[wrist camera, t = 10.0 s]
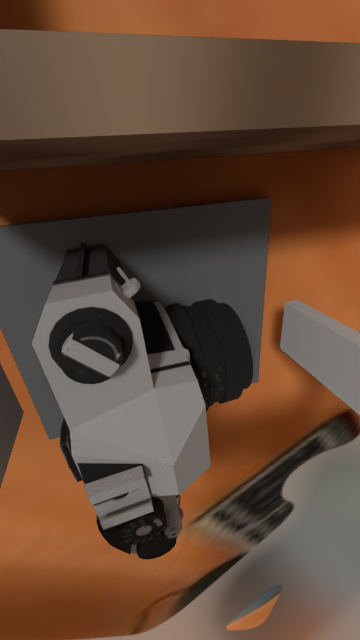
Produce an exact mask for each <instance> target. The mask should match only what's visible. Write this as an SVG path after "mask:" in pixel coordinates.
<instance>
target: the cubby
mask: <svg viewBox="0 0 360 640" xmlns="http://www.w3.org/2000/svg"><path fill="white" fill-rule="evenodd" d="M352 147H360V43H341V42H316V41H291V40H265V39H240V38H215V37H190V36H165V35H139V34H114V33H89V32H64V31H39V30H13V29H0V171H6V170H21V169H36V168H51V167H66V166H81V165H96V164H111V163H126V162H142V161H157V160H172V159H187V158H202V157H217V156H232V155H247V154H262V153H277V152H292V151H307V150H322V149H337V148H352Z"/></svg>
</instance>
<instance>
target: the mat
mask: <svg viewBox="0 0 360 640" xmlns="http://www.w3.org/2000/svg"><path fill="white" fill-rule="evenodd" d="M270 212H271V198H256V199H246V200H237V201H228V202H219V203H209V204H200V205H191V206H181V207H172V208H163V209H153V210H144V211H135V212H126V213H116V214H107V215H98V216H88V217H79V218H70V219H60V220H51V221H42V222H33V223H23V224H14V225H5V226H0V328H1V330H2V332H3V335H4V337H5V339H6V342H7V344H8V346H9V348H10V351H11V353H12V355H13V357H14V360H15V362H16V364H17V367H18V369H19V371H20V373H21V376H22V378H23V380H24V382H25V385H26V387H27V389H28V391H29V394H30V396H31V398H32V401H33V403H34V405H35V407H36V410H37V412H38V414H39V416H40V419H41V421H42V423H43V426H44V428H45V430H46V432H47V435H48V437H49V439H54V438H57V437H60V433H61V426H62V422H63V418H64V416H63V414H62V411H61V409H60V407H59V404H58V402H57V400H56V398H55V395H54V393H53V391H52V389H51V386H50V384H49V382H48V379H47V377H46V375H45V373H44V370H43V368H42V366H41V364H40V361H39V359H38V357H37V354H36V352H35V350H34V348H33V345H32V342H33V339H34V336H35V333H36V330H37V327H38V324H39V321H40V318H41V315H42V312H43V309H44V306H45V303H46V300H47V297H48V294H49V291H50V288H51V285H52V283H53V281H54V280H56V277H57V275H58V273H59V270H60V268H61V266H62V263H63V260H64V257H65V254H66V251H67V250H68V249H70V248H76V247H80V246H81V244H82V243H86V246H88V245H94V244H100V243H104V244H105V245H106V246H107V247H108V248H109V250H110V251H111V252H112V253H113V254H114V255H115V256H116V258H117V259H118V260H119V261H120V262H121V266H122V270H123V271H124V272H125V273H126V274H127V278H128V279H132V278H136V279H137V280H138V281H139V283H140V284H141V286H140V289H139V290H138V292H137V293H135V294H134V295H133V298H134V302H140V301H153V302H159V303H161V304H162V306H163V308H166V307H167V306H168V305H170V304H175V303H179V304H180V305H182V306H183V305H184V306H191V305H192V304H193V303H194V302H197V301H202V300H207V299H212V300H215V301H216V302H217V303H226V304H228V305H229V306H230V307H231V308H233V310H234V311H235V312H236V314H237V315H238V317H239V319H240V320H241V322H242V324H243V327H244V329H245V331H246V334H247V337H248V340H249V344H250V347H251V352H252V358H253V379H252V382H251V384H252V383H256V382H258V376H259V362H260V348H261V335H262V321H263V308H264V294H265V280H266V267H267V253H268V239H269V226H270Z"/></svg>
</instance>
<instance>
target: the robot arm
mask: <svg viewBox="0 0 360 640" xmlns="http://www.w3.org/2000/svg"><path fill="white" fill-rule="evenodd" d="M280 349H282V350H283V351H284V352H285V353H286V354H287V355H289V356H290V357H291V358H292V359H293V360H295V361H296V362H297V363H298V364H299V365H301V366H302V367H303V368H304V369H305V370H306V371H308V372H309V373H310V374H311V375H312V376H314V377H315V378H316V379H317V380H318V381H320V382H321V383H322V384H323V385H324V386H325V387H327V388H328V389H329V390H330V391H331V392H333V393H334V394H335V395H336V396H337V397H339V398H340V399H341V400H342V401H343V402H345V403H346V404H347V405H348V406H349V407H350V408H352V409H353V410H354V411H355V412H356V413H358V414H359V415H360V333H359V332H357V331H355V330H353V329H351V328H350V327H348V326H346V325H344V324H342V323H340V322H338V321H336V320H335V319H333V318H331V317H329V316H327V315H325V314H323V313H321V312H320V311H318V310H316V309H314V308H312V307H310V306H308V305H306V304H305V303H303V302H301V301H299V300H295V301H290V302H285V306H284V315H283V324H282V333H281V342H280ZM23 413H24V412H23V410H22V408H21V406H20V404H19V402H18V400H17V398H16V395H15V393H14V391H13V389H12V387H11V385H10V383H9V381H8V379H7V376H6V374H5V372H4V370H3V368H2V366H1V364H0V488H1V484H2V481H3V478H4V475H5V471H6V468H7V465H8V462H9V458H10V455H11V452H12V449H13V445H14V442H15V439H16V435H17V432H18V429H19V426H20V422H21V419H22V416H23Z"/></svg>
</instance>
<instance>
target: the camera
mask: <svg viewBox="0 0 360 640" xmlns="http://www.w3.org/2000/svg"><path fill="white" fill-rule="evenodd" d="M140 286H141V284H140V283H139V281H138V280H137V279H136V278H132V279H128V278H127V274H126V273H125V272H124V271H123V270H122V266H121V262H120V261H119V260H118V259H117V258H116V256H115V255H114V254H113V253H112V252H111V251H110V250H109V248H108V247H107V246H106V245H105V244H104V243H100V244H94V245H88V246H86V243H82V244H81V246H80V247H76V248H70V249H68V250H67V251H66V254H65V257H64V260H63V263H62V266H61V268H60V270H59V273H58V275H57V277H56V280H54V281H53V283H52V285H51V288H50V291H49V294H48V297H47V300H46V303H45V306H44V309H43V312H42V315H41V318H40V321H39V324H38V327H37V330H36V333H35V336H34V339H33V342H32V345H33V348H34V350H35V352H36V354H37V357H38V359H39V361H40V364H41V366H42V368H43V370H44V373H45V375H46V377H47V379H48V382H49V384H50V386H51V389H52V391H53V393H54V395H55V398H56V400H57V402H58V404H59V407H60V409H61V411H62V414H63V416H64V418H63V422H62V426H61V433H60V447H61V450H62V452H63V454H64V456H65V459H66V461H67V463H68V466H69V468H70V469H71V471H72V473H73V475H74V477H75V479H76V480H77V482H79V481H82V480H83V481H84V489H85V491H86V493H87V496H88V498H89V500H90V502H91V504H92V505H94V510H95V512H96V514H97V525H98V529H99V531H100V532H101V534H102V536H103V537H104V538H105V539H106V541H107V542H108V543H109V544H110V545H112V546H113V547H115V548H117V549H119V550H121V551H124V552H126V553H128V554H130V553H134V554H137V555H138V556H139V557H140V558H142V559H153V558H157V557H160V556H162V555H164V554H166V553H167V552H169V551H170V550H171V549H172V548H173V547H174V546H175V544H176V539H177V537H178V535H179V533H180V531H181V529H182V523H181V520H182V518H183V511H182V509H181V508H180V494H181V493H182V492H183V491H184V490H185V489H186V488H187V487H188V486H189V485H190V484H191V483H193V482H194V481H195V480H196V479H197V478H198V477H199V476H200V475H201V474H202V473H203V472H204V471H206V470H207V469H208V468H209V467H210V466H211V462H210V451H209V439H208V428H207V417H206V412H207V410H208V408H209V406H211V405H212V404H213V403H214V402H219V403H225V402H228V401H231V400H234V399H238V398H239V397H240V396H241V394H242V391H243V389H245V388H248V387H249V386H250V385H251V382H252V379H253V358H252V352H251V347H250V344H249V340H248V337H247V334H246V331H245V329H244V327H243V324H242V322H241V320H240V319H239V317H238V315H237V314H236V312H235V311H234V310H233V308H231V307H230V306H229V305H228V304H226V303H217V302H216V301H215V300H212V299H207V300H202V301H197V302H194V303H193V304H192V305H191V306H184V305H183V306H182V305H180V304H179V303H175V304H170V305H168V306H167V307H166V308H163V306H162V304H161V303H159V302H153V301H140V302H134V298H133V295H134V294H135V293H137V292H138V290H139V289H140ZM176 495H177V496H176ZM178 496H179V500H178V504H177V497H178Z"/></svg>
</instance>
